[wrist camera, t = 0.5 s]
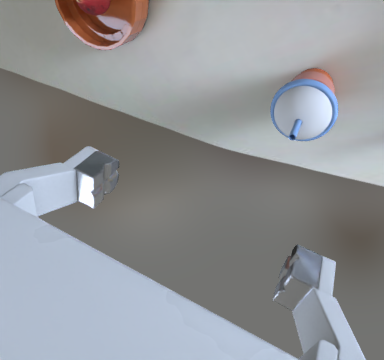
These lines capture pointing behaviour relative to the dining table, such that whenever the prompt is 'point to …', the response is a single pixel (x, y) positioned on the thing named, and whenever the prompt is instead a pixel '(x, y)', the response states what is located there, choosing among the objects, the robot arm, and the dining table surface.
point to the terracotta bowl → (105, 22)
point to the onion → (94, 6)
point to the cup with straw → (305, 106)
